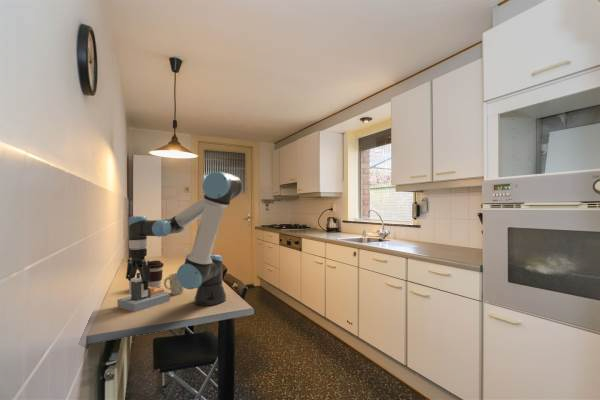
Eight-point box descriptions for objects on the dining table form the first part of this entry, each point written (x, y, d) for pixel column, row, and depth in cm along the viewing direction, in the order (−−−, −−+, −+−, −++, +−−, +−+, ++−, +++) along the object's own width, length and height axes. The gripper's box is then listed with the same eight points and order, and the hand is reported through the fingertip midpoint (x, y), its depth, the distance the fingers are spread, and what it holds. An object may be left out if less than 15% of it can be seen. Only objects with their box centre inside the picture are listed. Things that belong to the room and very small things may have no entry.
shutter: (164, 292, 156) (164, 285, 156) (151, 296, 150) (151, 288, 150) (155, 290, 159) (155, 283, 159) (142, 294, 153) (142, 286, 153)
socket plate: (169, 300, 155) (169, 292, 155) (134, 312, 139) (134, 302, 139) (152, 296, 162) (152, 288, 162) (117, 307, 146) (117, 297, 146)
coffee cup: (166, 284, 185) (166, 259, 185) (159, 289, 175) (159, 263, 175) (149, 285, 185) (149, 260, 185) (141, 289, 175) (141, 263, 175)
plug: (136, 308, 145) (136, 274, 145) (130, 306, 147) (130, 273, 147) (145, 305, 149) (145, 272, 149) (140, 303, 151) (139, 271, 151)
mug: (179, 295, 163) (179, 276, 163) (158, 294, 165) (158, 276, 166) (188, 291, 171) (188, 273, 171) (168, 290, 174) (168, 272, 174)
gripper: (159, 248, 146) (159, 296, 146) (132, 245, 157) (132, 290, 157) (144, 251, 139) (144, 300, 139) (117, 247, 150) (117, 294, 150)
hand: (138, 295), depth 148 cm, fingers open, 9 cm apart
